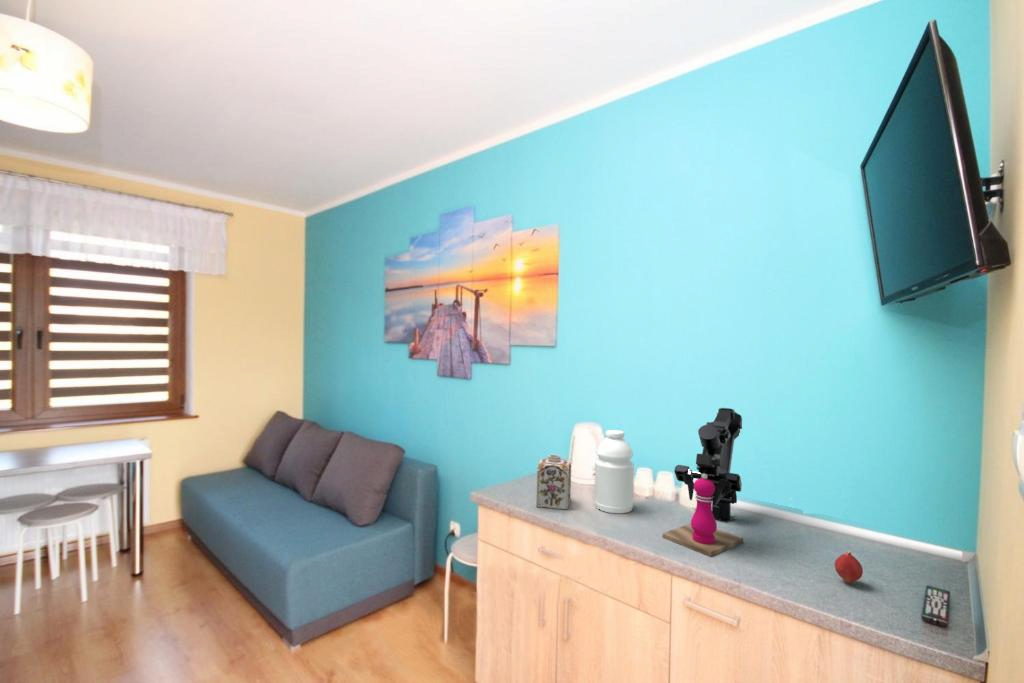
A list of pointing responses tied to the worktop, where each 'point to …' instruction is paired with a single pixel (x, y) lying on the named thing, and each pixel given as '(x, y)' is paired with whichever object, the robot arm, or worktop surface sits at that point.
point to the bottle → (614, 474)
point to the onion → (848, 567)
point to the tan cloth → (685, 538)
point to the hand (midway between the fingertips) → (702, 502)
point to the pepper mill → (704, 512)
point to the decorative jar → (553, 482)
